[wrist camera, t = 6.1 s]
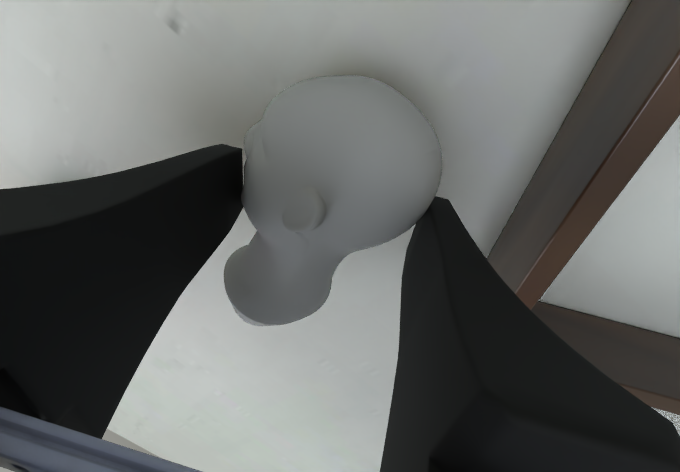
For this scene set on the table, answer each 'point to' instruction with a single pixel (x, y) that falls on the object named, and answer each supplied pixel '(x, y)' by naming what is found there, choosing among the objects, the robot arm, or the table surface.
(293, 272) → the smooth white sculpture
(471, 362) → the robot arm
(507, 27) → the table surface
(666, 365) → the bin
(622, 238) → the table surface
